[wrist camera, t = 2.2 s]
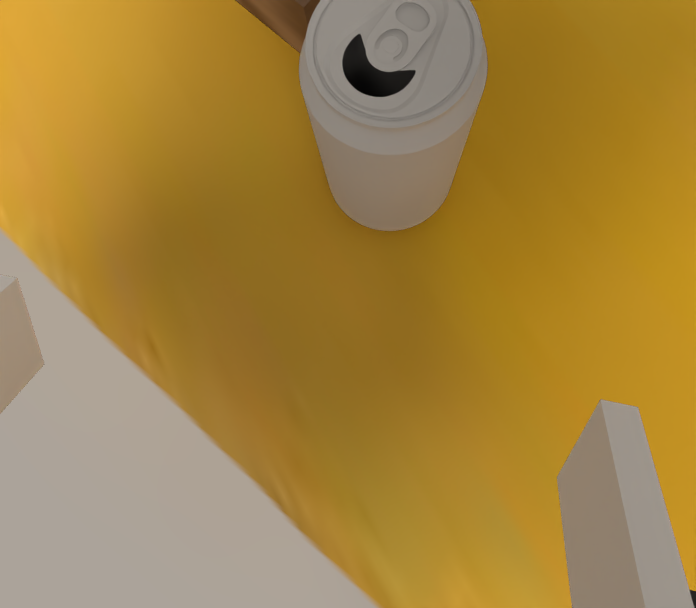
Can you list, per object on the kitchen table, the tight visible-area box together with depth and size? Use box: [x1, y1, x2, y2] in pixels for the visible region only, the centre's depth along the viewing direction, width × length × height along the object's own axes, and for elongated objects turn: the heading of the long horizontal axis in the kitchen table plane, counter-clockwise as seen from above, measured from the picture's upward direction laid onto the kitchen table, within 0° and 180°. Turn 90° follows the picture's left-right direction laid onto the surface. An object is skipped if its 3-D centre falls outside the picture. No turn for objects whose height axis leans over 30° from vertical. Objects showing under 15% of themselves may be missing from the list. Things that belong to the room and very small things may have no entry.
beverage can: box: [299, 0, 488, 231], centre depth 24 cm, size 6×6×12 cm
